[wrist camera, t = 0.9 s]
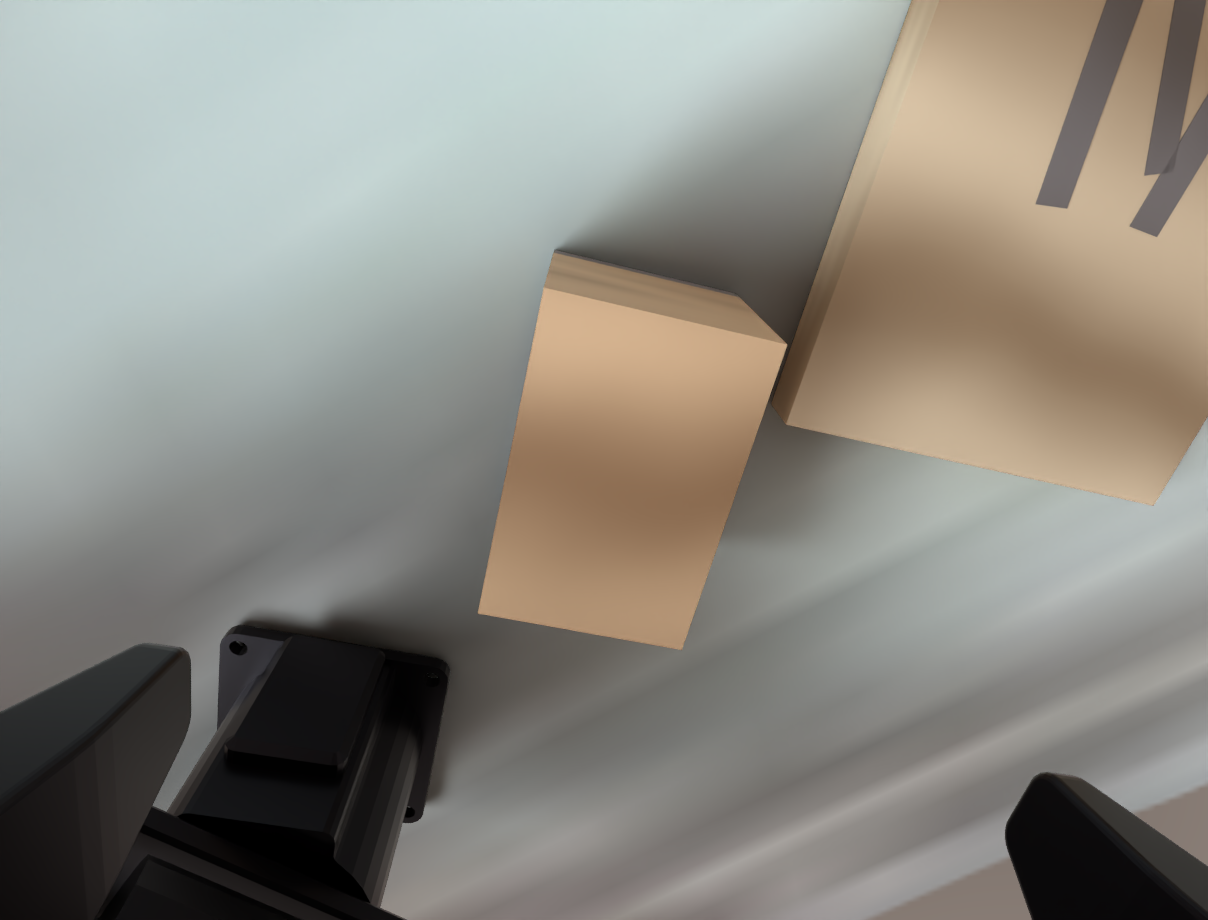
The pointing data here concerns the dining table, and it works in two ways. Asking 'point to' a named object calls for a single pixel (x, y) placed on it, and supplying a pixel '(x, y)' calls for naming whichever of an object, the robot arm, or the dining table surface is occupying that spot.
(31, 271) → the dining table surface
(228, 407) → the dining table surface
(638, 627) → the block
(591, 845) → the dining table surface
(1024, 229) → the board
